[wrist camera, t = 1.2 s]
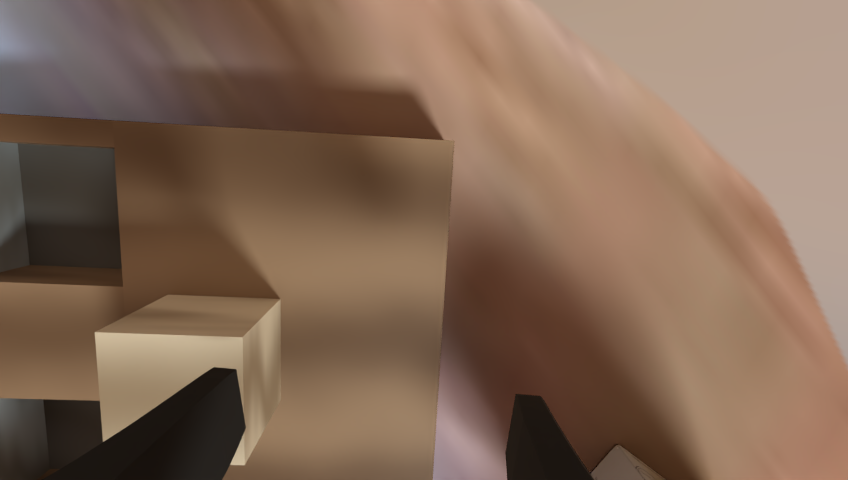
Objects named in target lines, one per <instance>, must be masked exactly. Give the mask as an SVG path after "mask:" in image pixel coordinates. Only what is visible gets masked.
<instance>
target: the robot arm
mask: <svg viewBox="0 0 848 480" xmlns="http://www.w3.org/2000/svg"><path fill="white" fill-rule="evenodd" d="M245 429H246V425H245V419H244V412H243V406H242V400H241V394H240V388H239V382H238V376H237V370H236V369H229V368H218V367H213V368H212V369H210V370H209V371H207V372H205V373H204V374H202V375H201V376H200V377H198V378H197V379H195V380H194V381H192V382H191V383H189V384H188V385H187V386H185V387H184V388H182V389H181V390H179V391H178V392H177V393H175V394H174V395H172V396H171V397H169V398H168V399H167V400H165V401H164V402H162V403H161V404H159V405H158V406H156V407H155V408H154V409H152V410H151V411H149V412H148V413H146V414H145V415H143V416H142V417H140V418H139V419H138V420H136V421H135V422H133V423H132V424H130V425H129V426H127V427H126V428H124V429H123V430H121V431H120V432H118V433H116V434H115V435H113V436H112V437H110V438H109V439H107V440H106V441H104V442H102V443H101V444H99V445H98V446H96V447H95V448H93V449H91V450H90V451H88V452H87V453H85V454H84V455H82V456H81V457H79V458H77V459H76V460H74V461H72V462H71V463H69V464H68V465H66V466H64V467H63V468H61V469H59V470H57V471H56V472H54V473H52V474H51V475H49V476H47V477H45V478H44V479H42V480H222V479H223V477H224V475H225V474H226V472H227V470H228V468H229V466H230V464H231V462H232V459H233V457H234V455H235V453H236V451H237V448H238V446H239V444H240V441H241V439H242V436H243V434H244V432H245ZM506 466H507V480H594V479H593V477H592V476H591V474H590V473H589V471H588V470H587V468H586V467H585V466H584V464H583V463H582V461H581V460H580V458H579V457H578V455H577V454H576V452H575V451H574V449H573V448H572V446H571V444H570V443H569V441H568V440H567V438H566V437H565V435H564V433H563V432H562V430H561V428H560V427H559V425H558V424H557V422H556V420H555V419H554V417H553V415H552V413H551V412H550V410H549V408H548V407H547V405H546V403H545V401H544V400H543V399H542V398H541V396H532V395H521V394H516V396H515V401H514V407H513V413H512V419H511V425H510V431H509V437H508V442H507V448H506Z"/></svg>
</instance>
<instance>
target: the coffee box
mask: <svg viewBox="0 0 848 480" xmlns="http://www.w3.org/2000/svg"><path fill="white" fill-rule="evenodd" d="M591 476H592V477H593V479H594V480H666V479H664V478H663V477H662V476H660V475H659V474H658V473H656V472H655V471H654V470H652V469H651V468H650V467H648V466H647V465H646V464H645V463H643V462H642V461H640V460H639V459H638V458H636V457H635V456H634V455H632V454H631V453H630V452H628V451H627V450H626V449H624V448H623V447H621V446H620V445H616V446H615V447H614V448H613V449H612V450H611V451H610V452H609V453H608V455H607V456H606V457H605V458H604V459H603V460H602V461H601V462H600V464H599V465H598V466H597V467H596V468H595V469H594V471H593V472H592V473H591Z"/></svg>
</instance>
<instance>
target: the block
mask: <svg viewBox="0 0 848 480" xmlns="http://www.w3.org/2000/svg"><path fill="white" fill-rule="evenodd" d="M95 343H96V356H97V369H98V383H99V396H100V409H101V422H102V435H103V442H104V441H106V440H107V439H109V438H110V437H112V436H113V435H115V434H116V433H118V432H120V431H121V430H123V429H124V428H126V427H127V426H129V425H130V424H132V423H133V422H135V421H136V420H138V419H139V418H140V417H142V416H143V415H145V414H146V413H148V412H149V411H151V410H152V409H154V408H155V407H156V406H158V405H159V404H161V403H162V402H164V401H165V400H167V399H168V398H169V397H171V396H172V395H174V394H175V393H177V392H178V391H179V390H181V389H182V388H184V387H185V386H187V385H188V384H189V383H191V382H192V381H194V380H195V379H197V378H198V377H200V376H201V375H202V374H204V373H205V372H207V371H209V370H210V369H212V368H213V367H218V368H229V369H236V370H237V376H238V382H239V388H240V394H241V400H242V406H243V412H244V419H245V425H246V429H245V432H244V434H243V436H242V439H241V441H240V444H239V446H238V448H237V451H236V453H235V455H234V457H233V459H232V462H231V464H230V465H245V464H246V462H247V460H248V458H249V457H250V455H251V453H252V451H253V449H254V448H255V446H256V444H257V442H258V440H259V438H260V437H261V435H262V433H263V431H264V429H265V428H266V426H267V424H268V422H269V420H270V418H271V417H272V415H273V413H274V411H275V409H276V408H277V406H278V404H279V402H280V400H281V299H269V298H243V297H217V296H191V295H166V296H164V297H162V298H160V299H158V300H157V301H155V302H153V303H151V304H149V305H147V306H145V307H143V308H141V309H139V310H137V311H135V312H133V313H131V314H129V315H127V316H125V317H123V318H121V319H119V320H118V321H116V322H114V323H112V324H110V325H108V326H106V327H104V328H102V329H100V330H98V331H96V332H95Z"/></svg>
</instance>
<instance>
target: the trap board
mask: <svg viewBox="0 0 848 480" xmlns="http://www.w3.org/2000/svg"><path fill="white" fill-rule="evenodd" d="M453 154H454V141H450V140H433V139H417V138H400V137H383V136H366V135H349V134H333V133H316V132H299V131H282V130H265V129H248V128H232V127H215V126H198V125H181V124H164V123H148V122H131V121H114V120H97V119H80V118H64V117H47V116H30V115H13V114H0V480H42V479H44V478H45V477H47V476H49V475H51V474H52V473H54V472H56V471H57V470H59V469H61V468H63V467H64V466H66V465H68V464H69V463H71V462H72V461H74V460H76V459H77V458H79V457H81V456H82V455H84V454H85V453H87V452H88V451H90V450H91V449H93V448H95V447H96V446H98V445H99V444H101V443H102V442H103V435H102V422H101V409H100V396H99V383H98V369H97V356H96V343H95V332H96V331H98V330H100V329H102V328H104V327H106V326H108V325H110V324H112V323H114V322H116V321H118V320H119V319H121V318H123V317H125V316H127V315H129V314H131V313H133V312H135V311H137V310H139V309H141V308H143V307H145V306H147V305H149V304H151V303H153V302H155V301H157V300H158V299H160V298H162V297H164V296H166V295H191V296H217V297H243V298H269V299H281V400H280V402H279V404H278V406H277V408H276V409H275V411H274V413H273V415H272V417H271V418H270V420H269V422H268V424H267V426H266V428H265V429H264V431H263V433H262V435H261V437H260V438H259V440H258V442H257V444H256V446H255V448H254V449H253V451H252V453H251V455H250V457H249V458H248V460H247V462H246V464H245V465H230V466H229V468H228V470H227V472H226V474H225V475H224V477H223V479H222V480H433V464H434V449H435V433H436V418H437V402H438V387H439V371H440V356H441V340H442V325H443V309H444V294H445V278H446V263H447V247H448V232H449V216H450V201H451V185H452V170H453Z"/></svg>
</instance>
